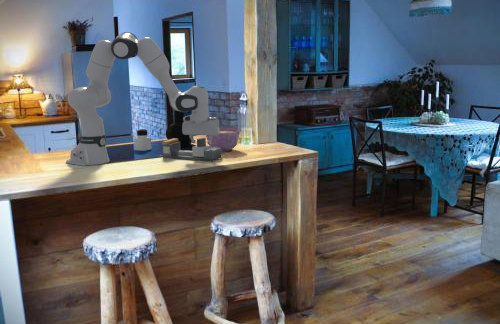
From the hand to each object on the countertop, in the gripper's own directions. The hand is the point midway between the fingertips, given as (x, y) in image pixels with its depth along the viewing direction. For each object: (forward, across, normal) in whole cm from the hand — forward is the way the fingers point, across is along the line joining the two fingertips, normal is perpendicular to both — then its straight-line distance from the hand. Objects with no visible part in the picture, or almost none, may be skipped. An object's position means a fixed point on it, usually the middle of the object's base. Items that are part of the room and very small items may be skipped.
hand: (201, 143), depth 259 cm
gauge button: (+1, +19, -2) cm, 19 cm away
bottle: (+8, +29, -34) cm, 46 cm away
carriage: (+6, 0, 0) cm, 6 cm away
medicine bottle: (+8, +45, -16) cm, 48 cm away
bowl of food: (+8, -2, -25) cm, 27 cm away
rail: (+8, +6, -1) cm, 10 cm away
